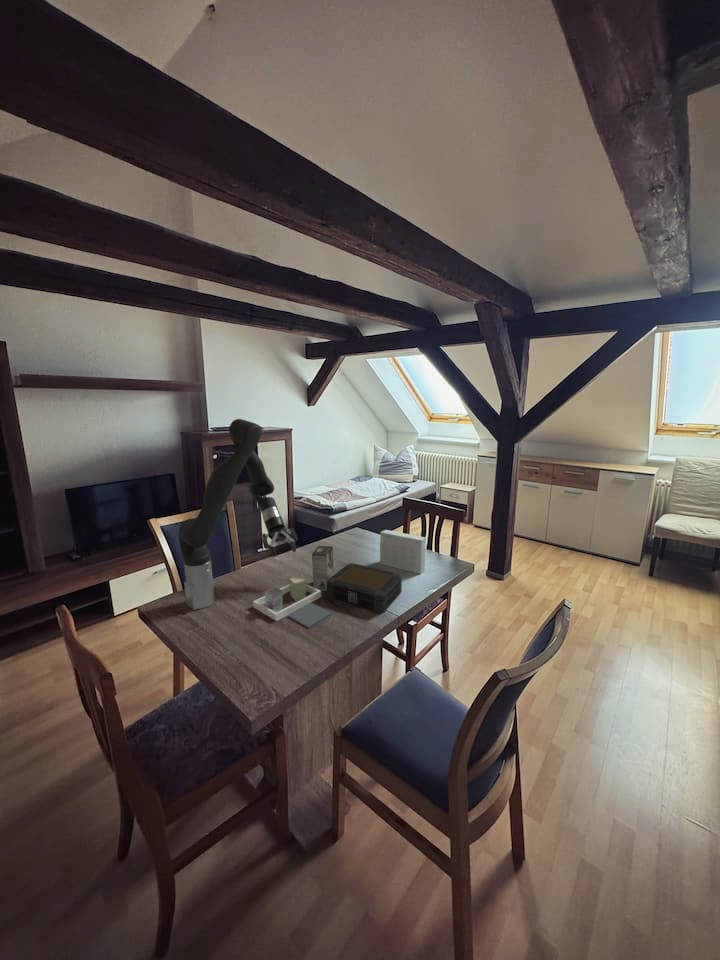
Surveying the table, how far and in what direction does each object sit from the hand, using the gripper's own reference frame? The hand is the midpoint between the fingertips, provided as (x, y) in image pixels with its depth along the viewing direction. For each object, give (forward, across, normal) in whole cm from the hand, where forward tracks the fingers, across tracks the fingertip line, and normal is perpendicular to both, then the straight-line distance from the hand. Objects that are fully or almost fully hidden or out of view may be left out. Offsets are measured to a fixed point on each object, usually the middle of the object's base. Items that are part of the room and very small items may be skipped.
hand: (285, 553), depth 157 cm
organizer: (+19, -5, +1) cm, 20 cm away
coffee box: (+17, +13, +4) cm, 21 cm away
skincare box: (+20, +51, 0) cm, 55 cm away
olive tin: (+18, 0, +2) cm, 18 cm away
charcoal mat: (+28, -2, -8) cm, 30 cm away
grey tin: (+20, -11, 0) cm, 23 cm away
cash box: (+28, +22, -7) cm, 37 cm away
